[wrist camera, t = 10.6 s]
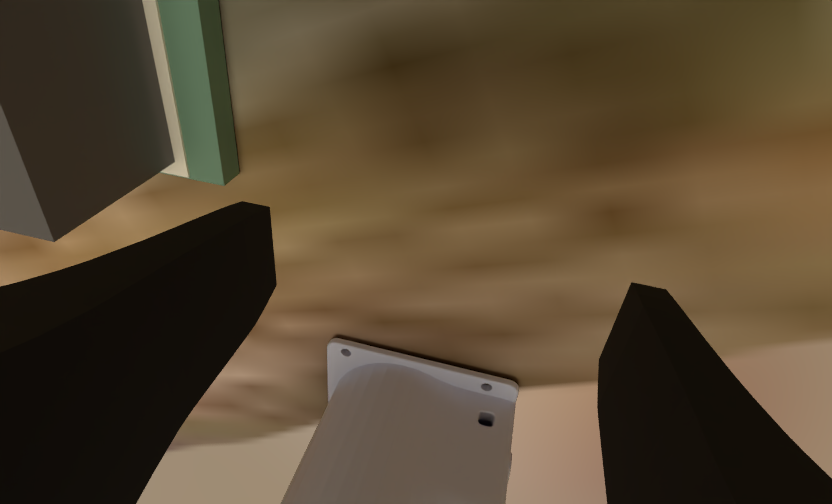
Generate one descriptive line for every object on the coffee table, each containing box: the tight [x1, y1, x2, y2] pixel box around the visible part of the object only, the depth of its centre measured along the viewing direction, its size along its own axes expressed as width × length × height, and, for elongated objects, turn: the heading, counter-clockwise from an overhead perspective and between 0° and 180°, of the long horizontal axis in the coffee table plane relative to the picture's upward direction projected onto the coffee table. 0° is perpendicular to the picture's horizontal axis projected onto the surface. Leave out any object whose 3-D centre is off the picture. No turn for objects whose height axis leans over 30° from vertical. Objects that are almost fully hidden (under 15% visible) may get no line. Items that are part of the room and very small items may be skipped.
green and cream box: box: [142, 0, 239, 186], centre depth 17 cm, size 8×10×5 cm
